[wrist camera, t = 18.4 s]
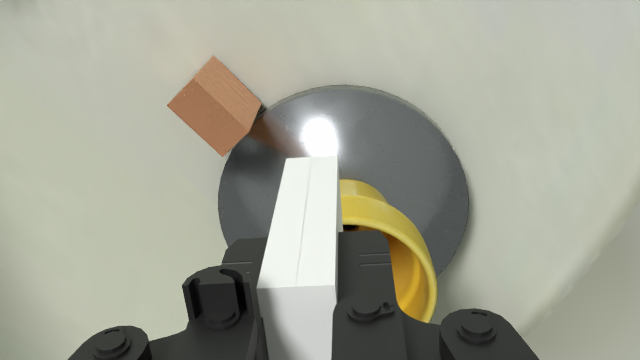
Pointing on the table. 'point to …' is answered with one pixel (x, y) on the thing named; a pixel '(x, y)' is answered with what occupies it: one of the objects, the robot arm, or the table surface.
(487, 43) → the table surface
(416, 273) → the plant pot
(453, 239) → the grey round piece
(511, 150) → the table surface
